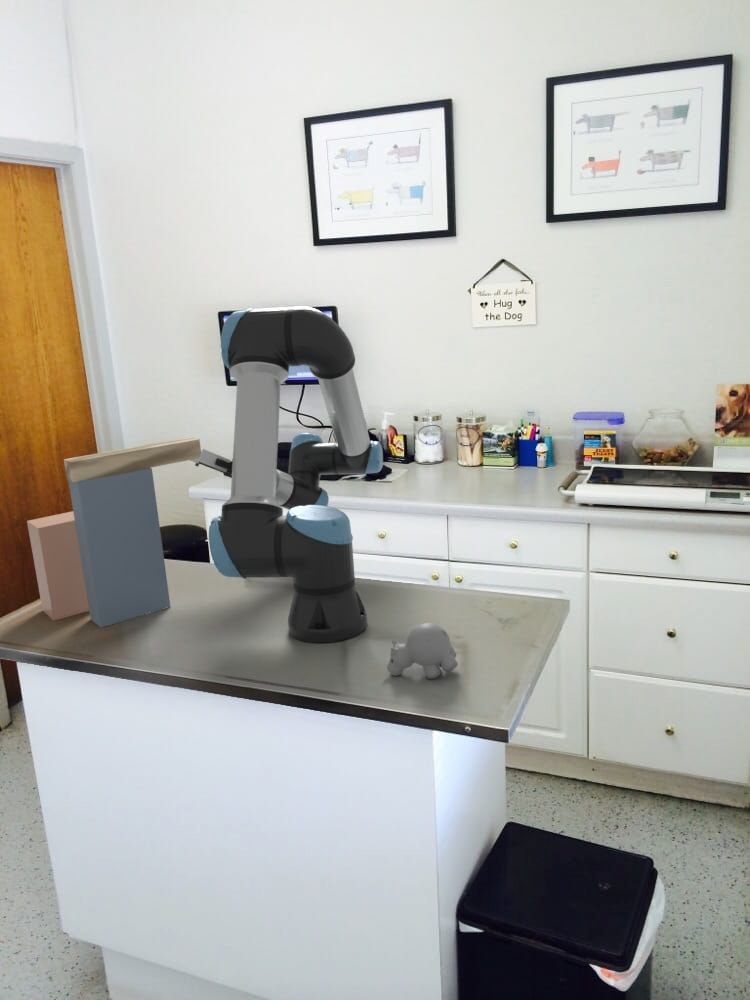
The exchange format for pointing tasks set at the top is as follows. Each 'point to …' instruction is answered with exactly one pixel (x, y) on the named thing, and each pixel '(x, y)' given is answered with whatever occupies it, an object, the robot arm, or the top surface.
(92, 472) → the bar
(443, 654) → the round bodied animal figurine
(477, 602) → the top surface
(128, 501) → the post
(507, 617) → the top surface
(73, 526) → the step
